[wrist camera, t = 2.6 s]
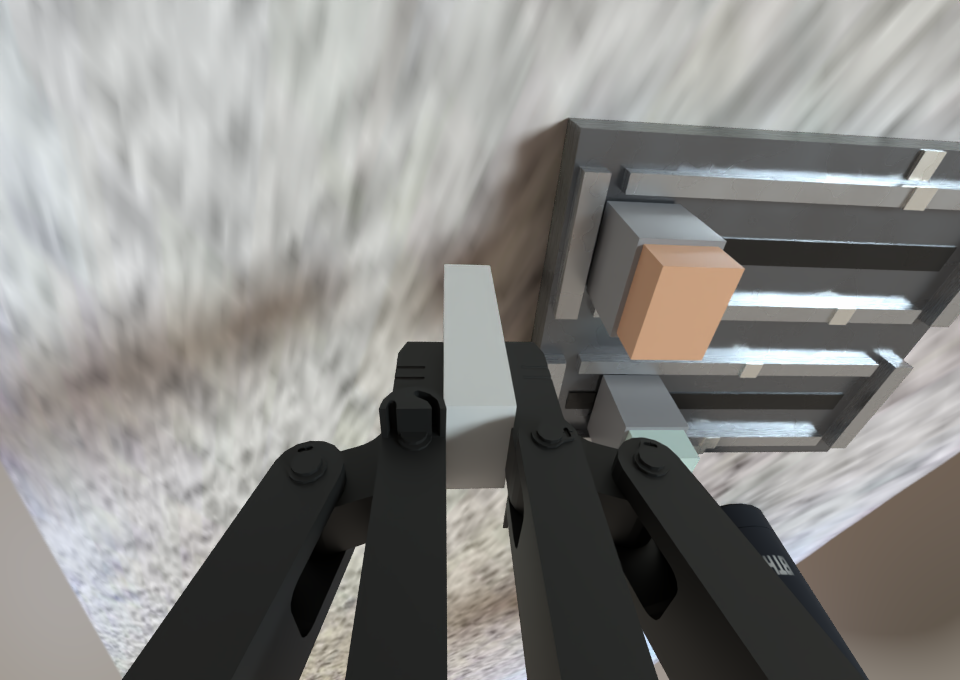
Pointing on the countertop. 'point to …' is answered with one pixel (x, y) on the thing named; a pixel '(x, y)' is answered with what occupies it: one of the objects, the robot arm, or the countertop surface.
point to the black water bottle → (784, 568)
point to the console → (764, 273)
